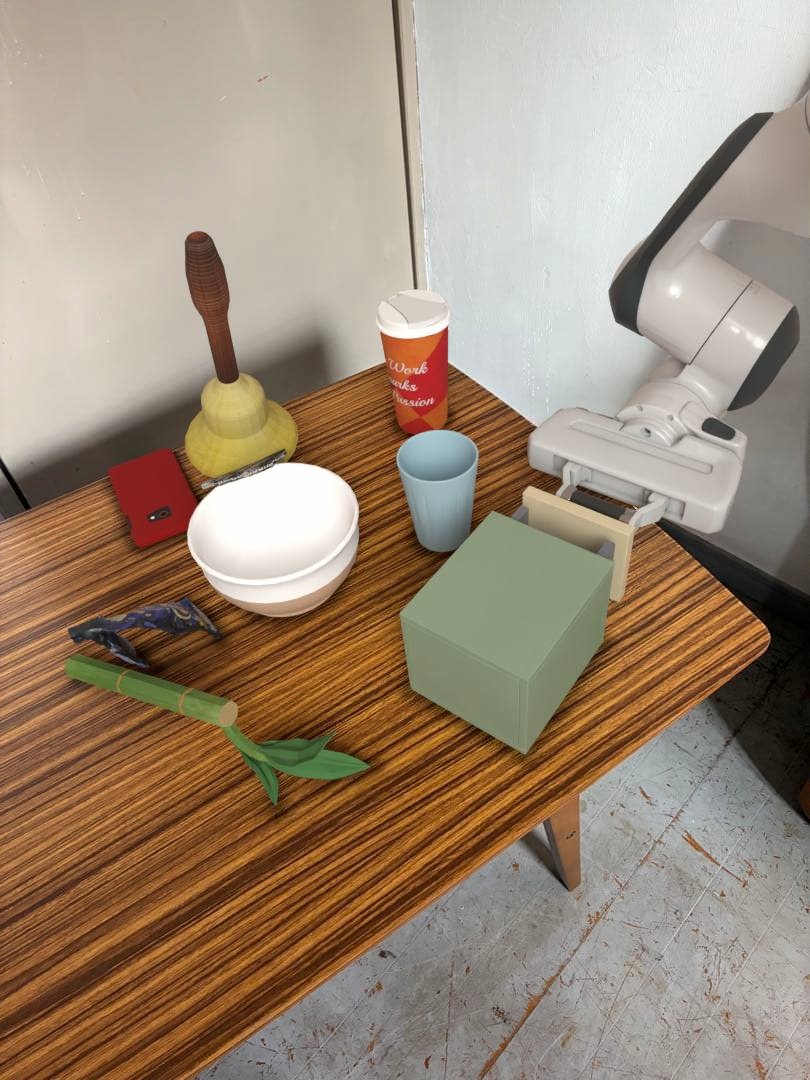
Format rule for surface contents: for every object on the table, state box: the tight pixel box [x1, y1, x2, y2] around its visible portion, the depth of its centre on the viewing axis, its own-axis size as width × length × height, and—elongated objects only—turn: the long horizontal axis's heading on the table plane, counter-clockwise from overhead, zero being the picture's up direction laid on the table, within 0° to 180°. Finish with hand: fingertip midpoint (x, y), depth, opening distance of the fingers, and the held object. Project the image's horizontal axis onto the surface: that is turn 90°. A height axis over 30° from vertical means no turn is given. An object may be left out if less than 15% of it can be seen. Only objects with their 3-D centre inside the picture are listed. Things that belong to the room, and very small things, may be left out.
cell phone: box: [107, 447, 200, 548], centre depth 89 cm, size 8×15×1 cm, turn 27°
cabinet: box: [399, 510, 615, 755], centre depth 66 cm, size 13×11×10 cm
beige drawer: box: [509, 485, 636, 603], centre depth 70 cm, size 17×10×9 cm, turn 143°
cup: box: [395, 429, 480, 553], centre depth 78 cm, size 8×8×10 cm
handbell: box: [184, 230, 300, 479], centre depth 76 cm, size 12×12×25 cm
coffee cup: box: [374, 289, 452, 435], centre depth 90 cm, size 8×8×15 cm
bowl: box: [186, 462, 360, 618], centre depth 76 cm, size 16×16×8 cm
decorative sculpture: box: [199, 448, 287, 490], centre depth 83 cm, size 20×1×10 cm
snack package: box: [67, 596, 223, 671], centre depth 71 cm, size 12×6×12 cm
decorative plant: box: [63, 653, 371, 807], centre depth 66 cm, size 6×8×30 cm
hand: (592, 516), depth 73 cm, fingers closed on beige drawer, 5 cm apart
